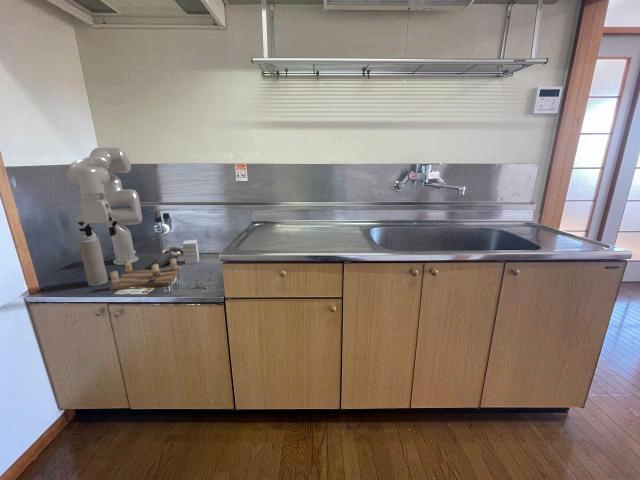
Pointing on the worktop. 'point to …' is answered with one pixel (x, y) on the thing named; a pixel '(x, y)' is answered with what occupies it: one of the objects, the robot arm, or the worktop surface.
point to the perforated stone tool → (164, 258)
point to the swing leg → (154, 272)
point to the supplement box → (190, 251)
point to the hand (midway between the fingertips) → (101, 235)
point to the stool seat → (143, 277)
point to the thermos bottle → (92, 258)
